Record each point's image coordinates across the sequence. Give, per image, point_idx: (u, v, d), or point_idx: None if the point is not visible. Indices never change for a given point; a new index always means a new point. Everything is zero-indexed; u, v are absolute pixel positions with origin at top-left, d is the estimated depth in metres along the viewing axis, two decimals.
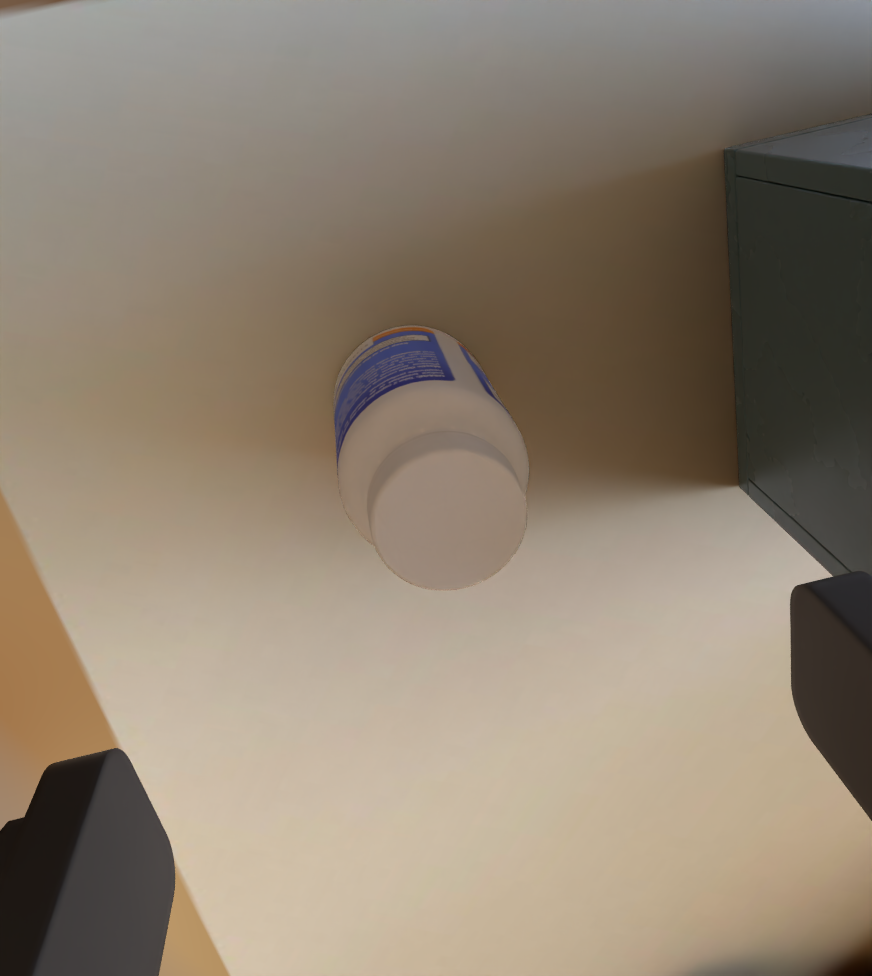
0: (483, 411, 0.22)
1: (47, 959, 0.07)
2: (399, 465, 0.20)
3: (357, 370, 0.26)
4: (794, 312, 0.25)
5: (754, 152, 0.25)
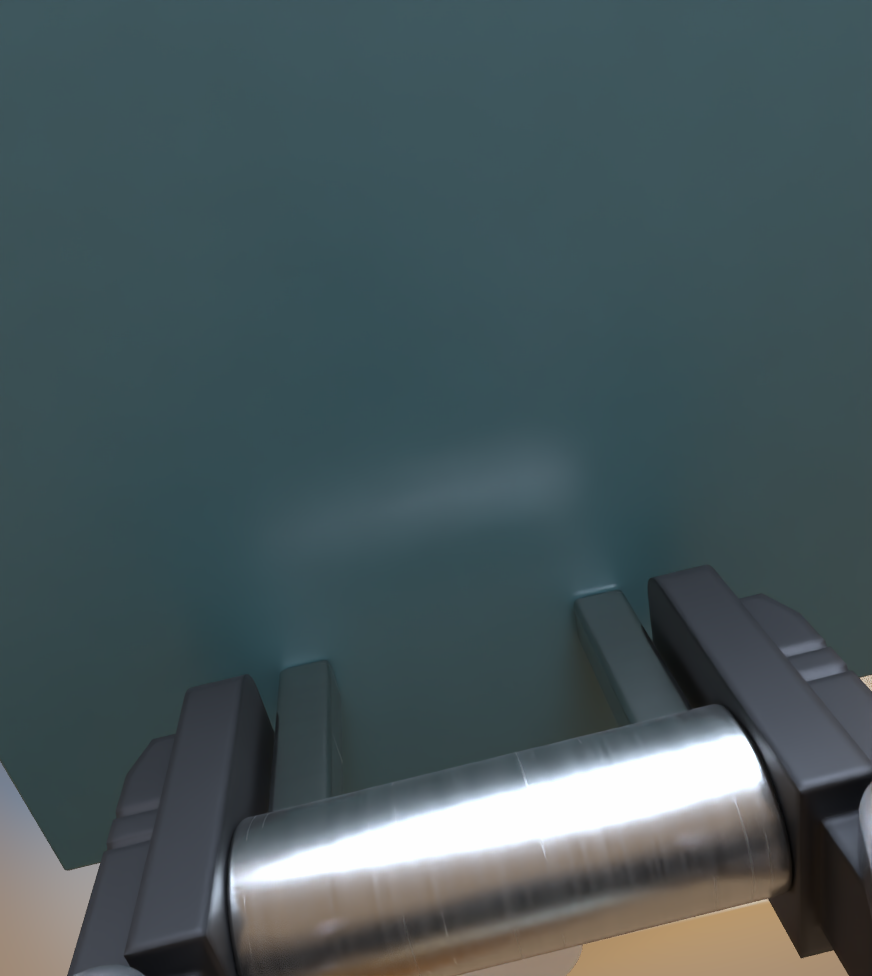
0: None
1: (224, 843, 0.08)
2: None
3: None
4: None
5: None
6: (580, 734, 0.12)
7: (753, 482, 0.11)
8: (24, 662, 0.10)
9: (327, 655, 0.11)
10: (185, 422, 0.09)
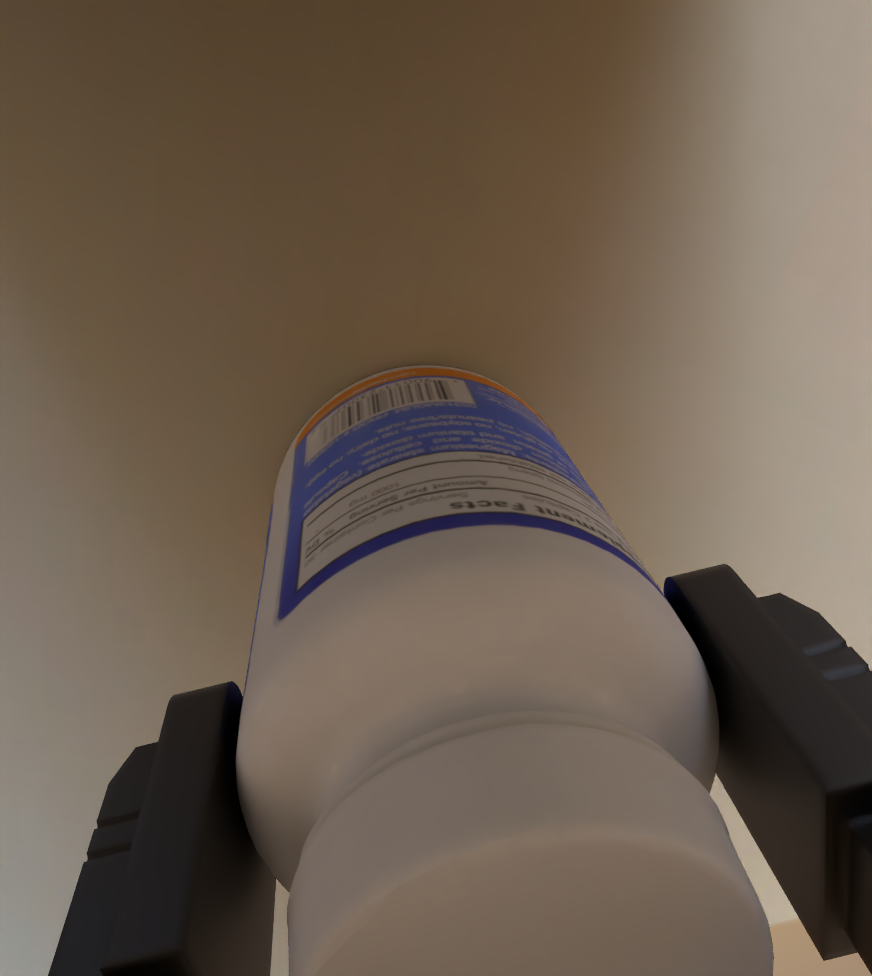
0: (282, 722, 0.08)
1: (203, 854, 0.08)
2: None
3: None
4: None
5: None
6: None
7: None
8: None
9: None
10: None
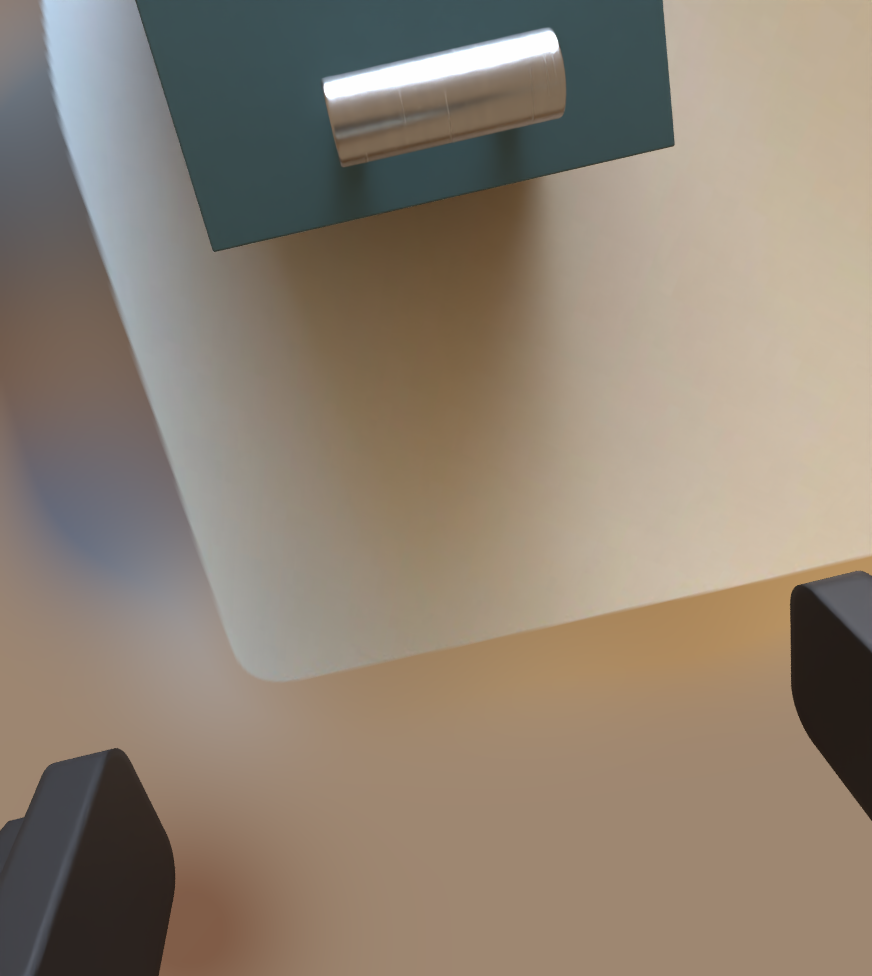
0: None
1: (46, 959, 0.07)
2: None
3: None
4: None
5: None
6: (498, 176, 0.22)
7: (580, 5, 0.21)
8: (205, 94, 0.20)
9: None
10: None
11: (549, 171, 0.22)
